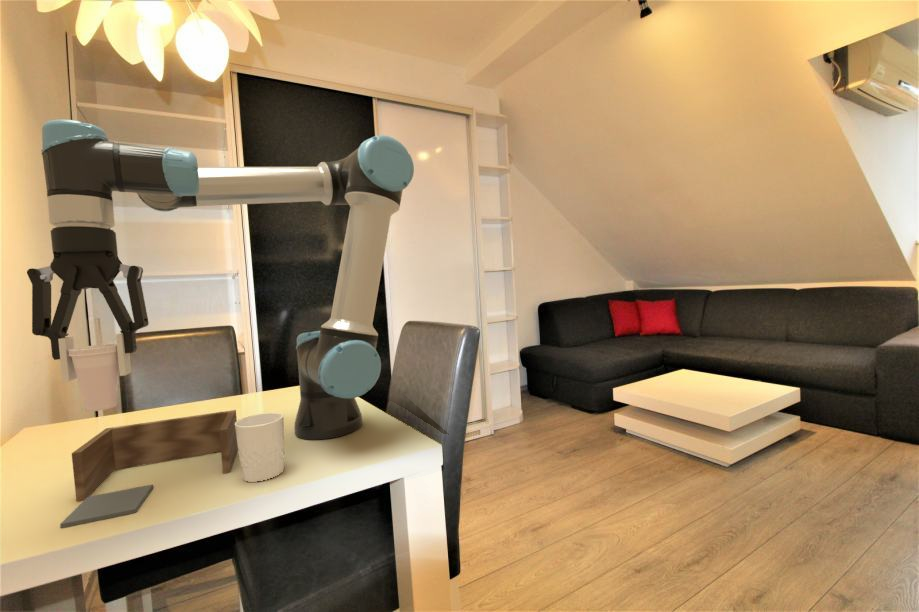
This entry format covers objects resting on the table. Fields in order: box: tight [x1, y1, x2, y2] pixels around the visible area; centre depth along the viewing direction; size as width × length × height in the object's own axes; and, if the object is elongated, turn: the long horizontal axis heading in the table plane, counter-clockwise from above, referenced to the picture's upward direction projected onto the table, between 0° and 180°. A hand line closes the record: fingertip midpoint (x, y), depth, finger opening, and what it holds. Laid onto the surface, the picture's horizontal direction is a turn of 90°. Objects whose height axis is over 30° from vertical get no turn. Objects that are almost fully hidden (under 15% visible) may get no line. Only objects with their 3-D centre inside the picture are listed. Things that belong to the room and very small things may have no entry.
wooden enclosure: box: [71, 409, 238, 502], centre depth 80 cm, size 22×14×8 cm, turn 112°
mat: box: [59, 484, 154, 529], centre depth 67 cm, size 9×9×1 cm
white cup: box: [235, 412, 285, 483], centre depth 76 cm, size 8×8×10 cm
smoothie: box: [68, 318, 120, 412], centre depth 66 cm, size 6×6×14 cm
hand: (98, 376), depth 66 cm, fingers closed on smoothie, 6 cm apart
